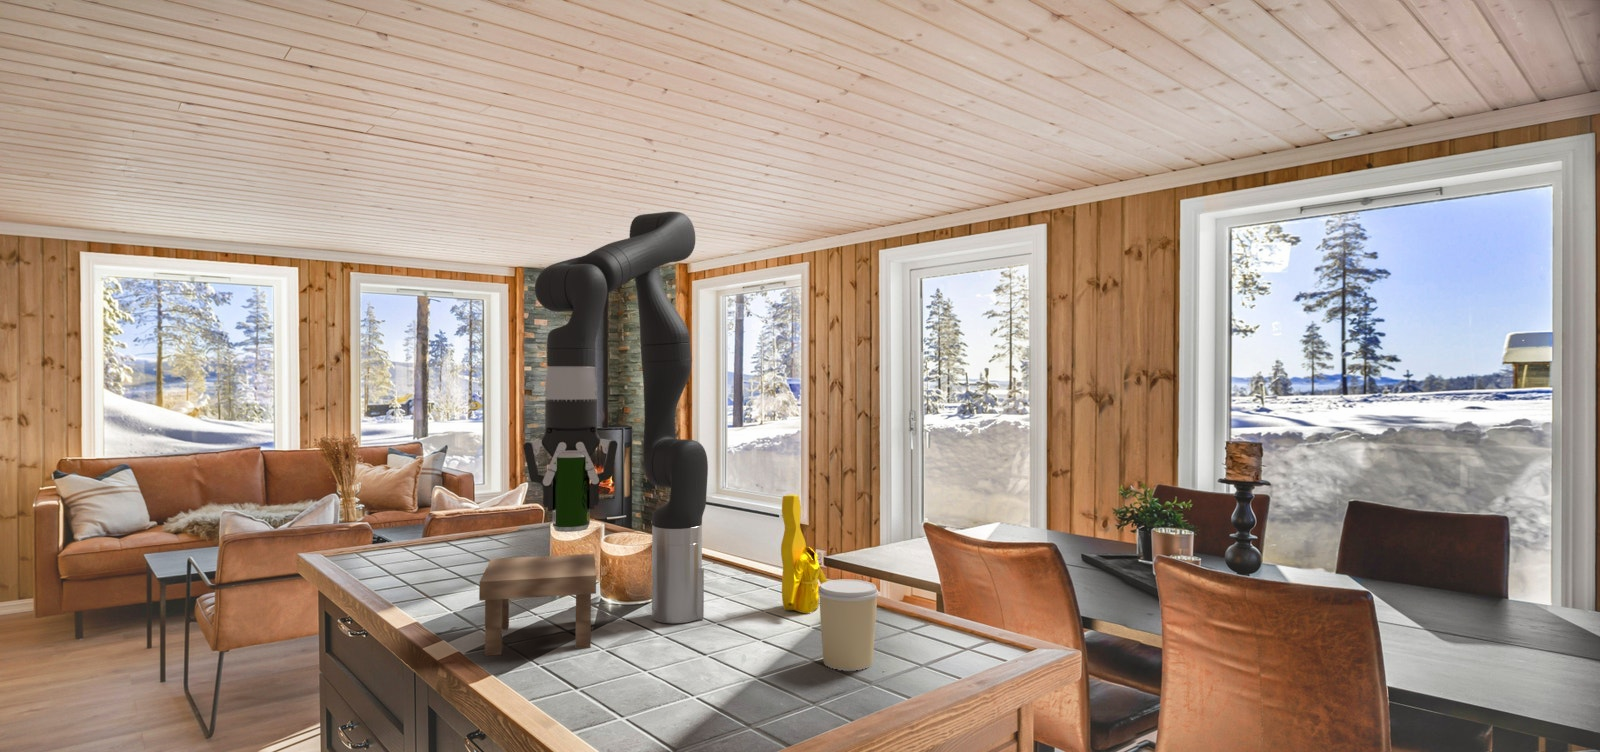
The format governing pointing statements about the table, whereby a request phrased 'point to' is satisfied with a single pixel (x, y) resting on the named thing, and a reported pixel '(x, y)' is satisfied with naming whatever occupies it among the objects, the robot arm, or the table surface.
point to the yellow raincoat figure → (798, 562)
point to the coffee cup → (848, 623)
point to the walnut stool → (536, 591)
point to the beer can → (571, 492)
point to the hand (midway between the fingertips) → (571, 508)
